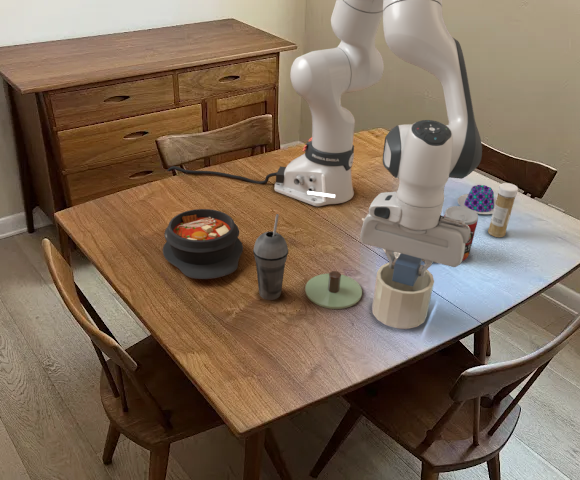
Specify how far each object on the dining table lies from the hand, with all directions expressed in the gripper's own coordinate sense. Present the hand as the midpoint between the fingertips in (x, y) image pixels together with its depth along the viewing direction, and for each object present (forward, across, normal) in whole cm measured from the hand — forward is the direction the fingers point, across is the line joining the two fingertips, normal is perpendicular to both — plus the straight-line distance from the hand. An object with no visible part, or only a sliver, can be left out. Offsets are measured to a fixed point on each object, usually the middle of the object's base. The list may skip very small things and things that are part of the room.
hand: (406, 271), depth 122 cm
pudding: (+11, -6, -57) cm, 58 cm away
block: (+2, 0, 0) cm, 2 cm away
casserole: (+11, +48, 0) cm, 49 cm away
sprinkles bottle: (+11, -13, -44) cm, 47 cm away
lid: (+10, +15, 0) cm, 18 cm away
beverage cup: (+11, +27, +7) cm, 30 cm away
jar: (+11, 0, 0) cm, 11 cm away
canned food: (+11, -5, -29) cm, 31 cm away
